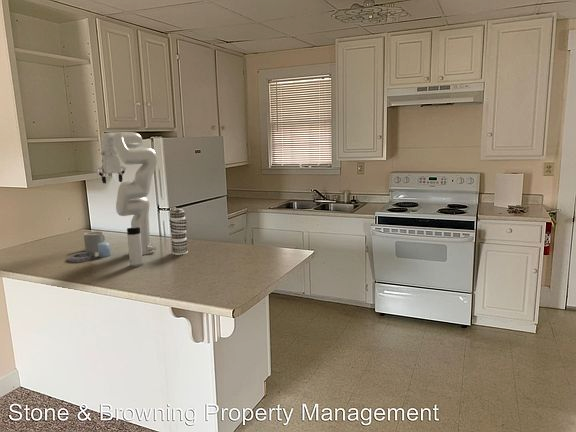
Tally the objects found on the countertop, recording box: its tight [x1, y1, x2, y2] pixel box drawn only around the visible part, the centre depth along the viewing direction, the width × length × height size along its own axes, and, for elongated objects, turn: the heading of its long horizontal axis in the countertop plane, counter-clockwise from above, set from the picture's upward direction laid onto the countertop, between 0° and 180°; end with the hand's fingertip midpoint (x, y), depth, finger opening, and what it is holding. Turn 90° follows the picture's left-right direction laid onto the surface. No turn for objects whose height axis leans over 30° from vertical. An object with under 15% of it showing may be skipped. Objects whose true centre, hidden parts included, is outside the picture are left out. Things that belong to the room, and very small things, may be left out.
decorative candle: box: [169, 207, 189, 256], centre depth 240 cm, size 9×9×25 cm
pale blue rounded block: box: [97, 241, 112, 258], centre depth 238 cm, size 6×6×7 cm
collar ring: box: [67, 251, 96, 263], centre depth 234 cm, size 13×13×2 cm
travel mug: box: [126, 227, 144, 268], centre depth 219 cm, size 6×7×20 cm
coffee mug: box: [83, 230, 106, 253], centre depth 252 cm, size 13×10×10 cm
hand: (112, 182), depth 261 cm, fingers open, 9 cm apart
